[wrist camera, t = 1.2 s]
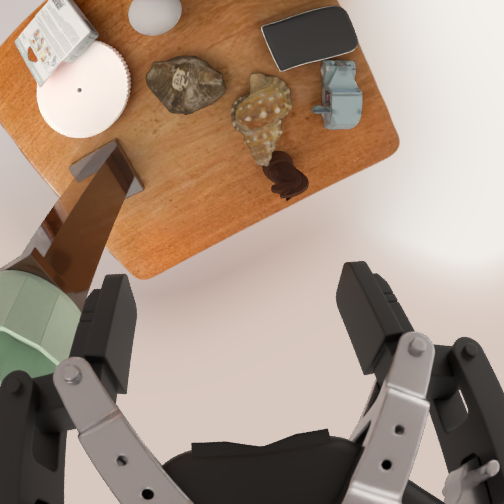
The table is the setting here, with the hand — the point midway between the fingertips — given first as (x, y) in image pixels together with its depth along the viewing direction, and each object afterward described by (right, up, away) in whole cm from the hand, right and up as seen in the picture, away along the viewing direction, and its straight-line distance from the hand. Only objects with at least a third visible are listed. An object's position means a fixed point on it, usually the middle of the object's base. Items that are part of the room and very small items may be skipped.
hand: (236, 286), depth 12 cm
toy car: (+11, +24, +29) cm, 40 cm away
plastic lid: (-22, +24, +24) cm, 41 cm away
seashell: (+2, +20, +31) cm, 37 cm away
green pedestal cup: (-22, +13, +33) cm, 41 cm away
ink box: (-21, +31, +15) cm, 40 cm away
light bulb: (-11, +32, +20) cm, 39 cm away
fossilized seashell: (-8, +24, +27) cm, 37 cm away
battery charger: (+3, +27, +24) cm, 36 cm away
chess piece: (+5, +14, +36) cm, 39 cm away
